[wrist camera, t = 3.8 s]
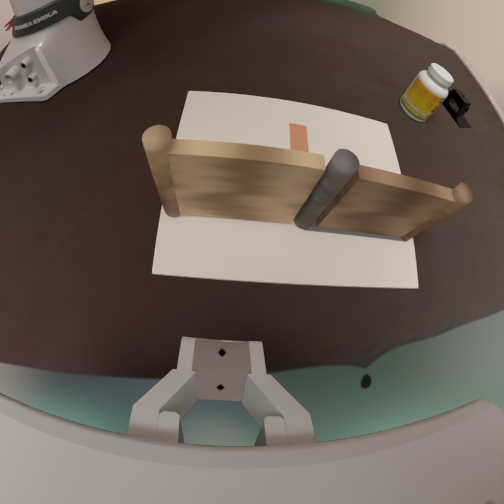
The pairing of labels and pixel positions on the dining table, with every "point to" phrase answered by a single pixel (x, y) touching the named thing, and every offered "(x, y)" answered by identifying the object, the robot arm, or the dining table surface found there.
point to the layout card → (288, 234)
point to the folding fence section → (230, 177)
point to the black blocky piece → (454, 110)
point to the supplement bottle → (426, 92)
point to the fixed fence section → (377, 200)
